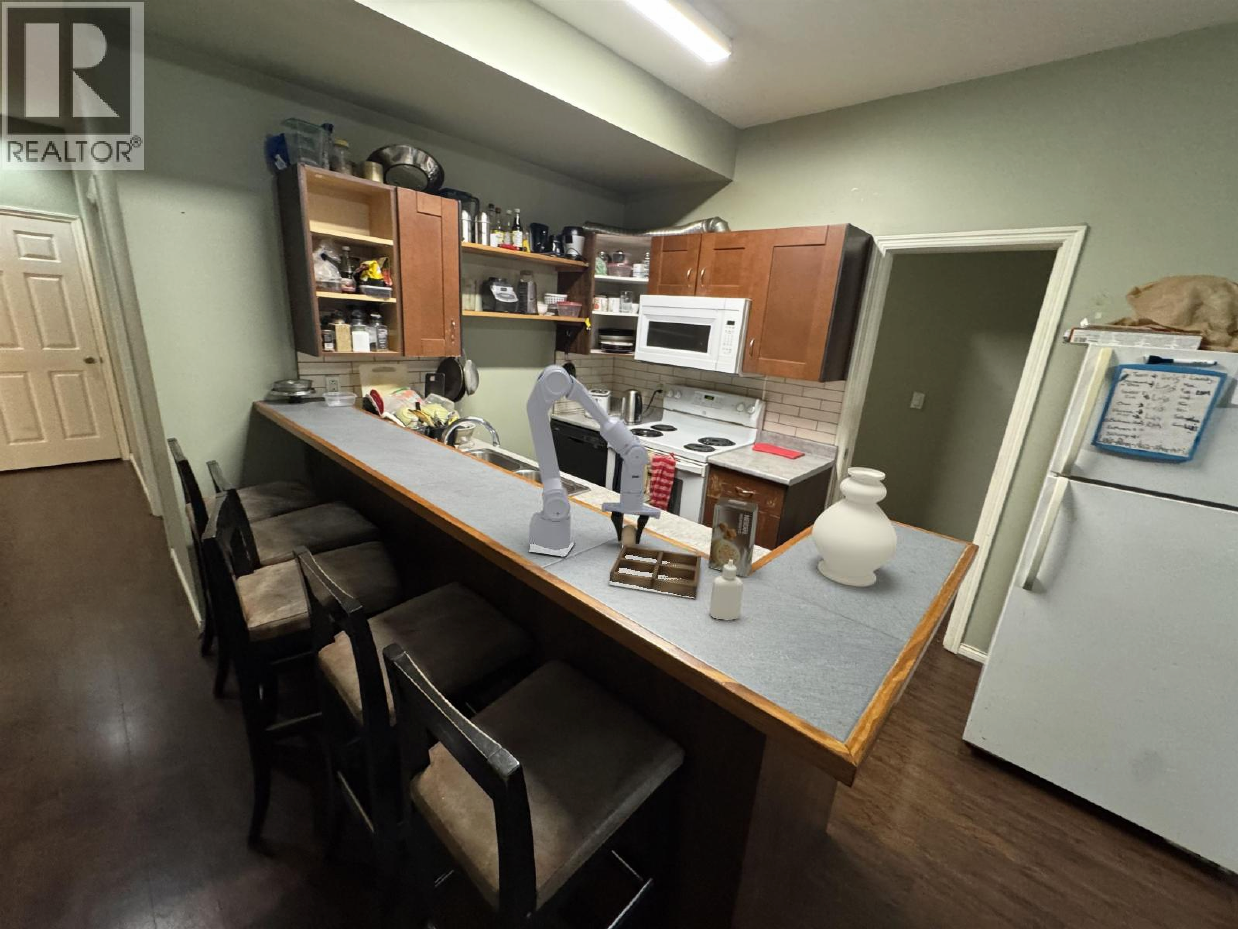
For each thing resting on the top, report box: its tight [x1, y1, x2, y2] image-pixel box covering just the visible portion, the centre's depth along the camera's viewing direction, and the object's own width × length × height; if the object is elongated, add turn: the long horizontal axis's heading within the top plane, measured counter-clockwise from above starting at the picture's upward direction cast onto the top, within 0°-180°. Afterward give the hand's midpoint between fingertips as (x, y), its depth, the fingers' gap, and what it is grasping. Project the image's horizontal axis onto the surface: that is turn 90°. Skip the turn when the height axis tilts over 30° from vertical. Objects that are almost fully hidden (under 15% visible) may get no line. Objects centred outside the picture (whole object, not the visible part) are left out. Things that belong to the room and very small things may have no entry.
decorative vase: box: [811, 466, 898, 588], centre depth 112 cm, size 18×18×25 cm
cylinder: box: [620, 524, 638, 546], centre depth 122 cm, size 4×4×6 cm
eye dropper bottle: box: [709, 560, 744, 621], centre depth 93 cm, size 4×6×12 cm
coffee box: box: [708, 496, 760, 578], centre depth 112 cm, size 9×6×16 cm
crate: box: [609, 545, 702, 599], centre depth 108 cm, size 18×14×3 cm
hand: (629, 541), depth 122 cm, fingers closed on cylinder, 4 cm apart
